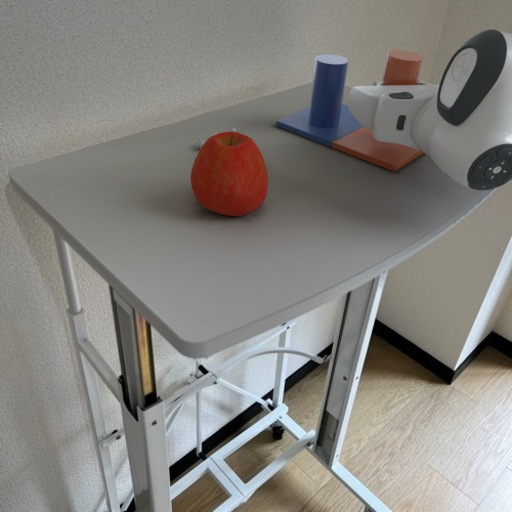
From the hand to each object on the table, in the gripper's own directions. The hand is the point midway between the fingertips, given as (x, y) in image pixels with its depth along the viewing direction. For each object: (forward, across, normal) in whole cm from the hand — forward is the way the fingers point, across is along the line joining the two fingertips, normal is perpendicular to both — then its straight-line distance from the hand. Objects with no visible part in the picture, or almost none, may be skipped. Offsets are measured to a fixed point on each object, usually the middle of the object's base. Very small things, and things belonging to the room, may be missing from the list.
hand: (396, 85), depth 89 cm
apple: (-17, +30, +10) cm, 36 cm away
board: (+4, +3, +10) cm, 11 cm away
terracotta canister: (-1, 0, +6) cm, 6 cm away
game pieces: (+2, +29, +10) cm, 30 cm away
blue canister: (+8, +9, +9) cm, 15 cm away
